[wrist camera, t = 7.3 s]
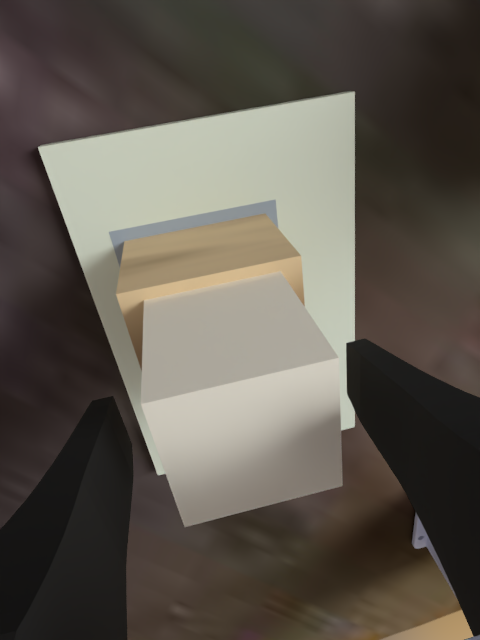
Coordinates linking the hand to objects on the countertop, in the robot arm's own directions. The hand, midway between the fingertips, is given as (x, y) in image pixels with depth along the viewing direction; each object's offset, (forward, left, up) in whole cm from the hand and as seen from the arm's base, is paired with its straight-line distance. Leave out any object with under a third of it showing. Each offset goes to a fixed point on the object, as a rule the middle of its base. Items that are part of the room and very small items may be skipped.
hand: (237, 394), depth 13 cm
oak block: (0, 0, -7) cm, 7 cm away
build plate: (-2, -1, -8) cm, 8 cm away
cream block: (0, 0, -2) cm, 2 cm away
